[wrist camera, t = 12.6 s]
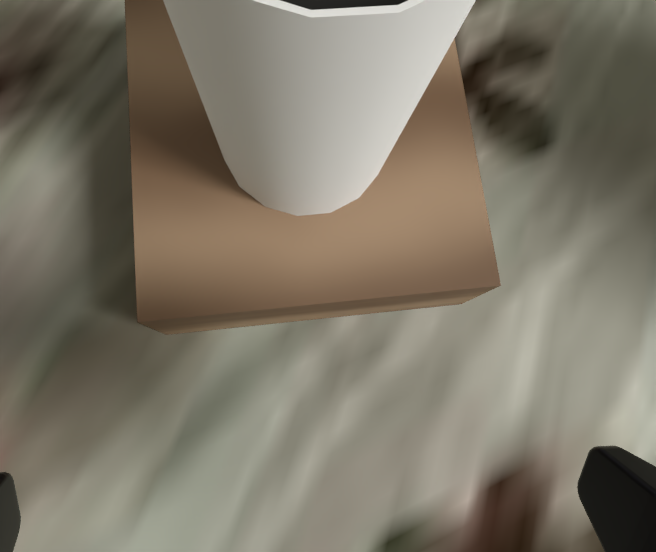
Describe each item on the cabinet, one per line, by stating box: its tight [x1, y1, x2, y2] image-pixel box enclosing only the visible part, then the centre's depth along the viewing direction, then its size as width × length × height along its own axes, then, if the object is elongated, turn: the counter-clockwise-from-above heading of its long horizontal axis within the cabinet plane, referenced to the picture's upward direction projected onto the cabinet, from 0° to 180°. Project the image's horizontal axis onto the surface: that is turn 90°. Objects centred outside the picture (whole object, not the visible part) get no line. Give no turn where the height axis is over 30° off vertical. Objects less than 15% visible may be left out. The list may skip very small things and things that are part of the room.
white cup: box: [163, 0, 476, 216], centre depth 13 cm, size 7×7×10 cm
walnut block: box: [125, 0, 501, 335], centre depth 20 cm, size 12×12×4 cm
